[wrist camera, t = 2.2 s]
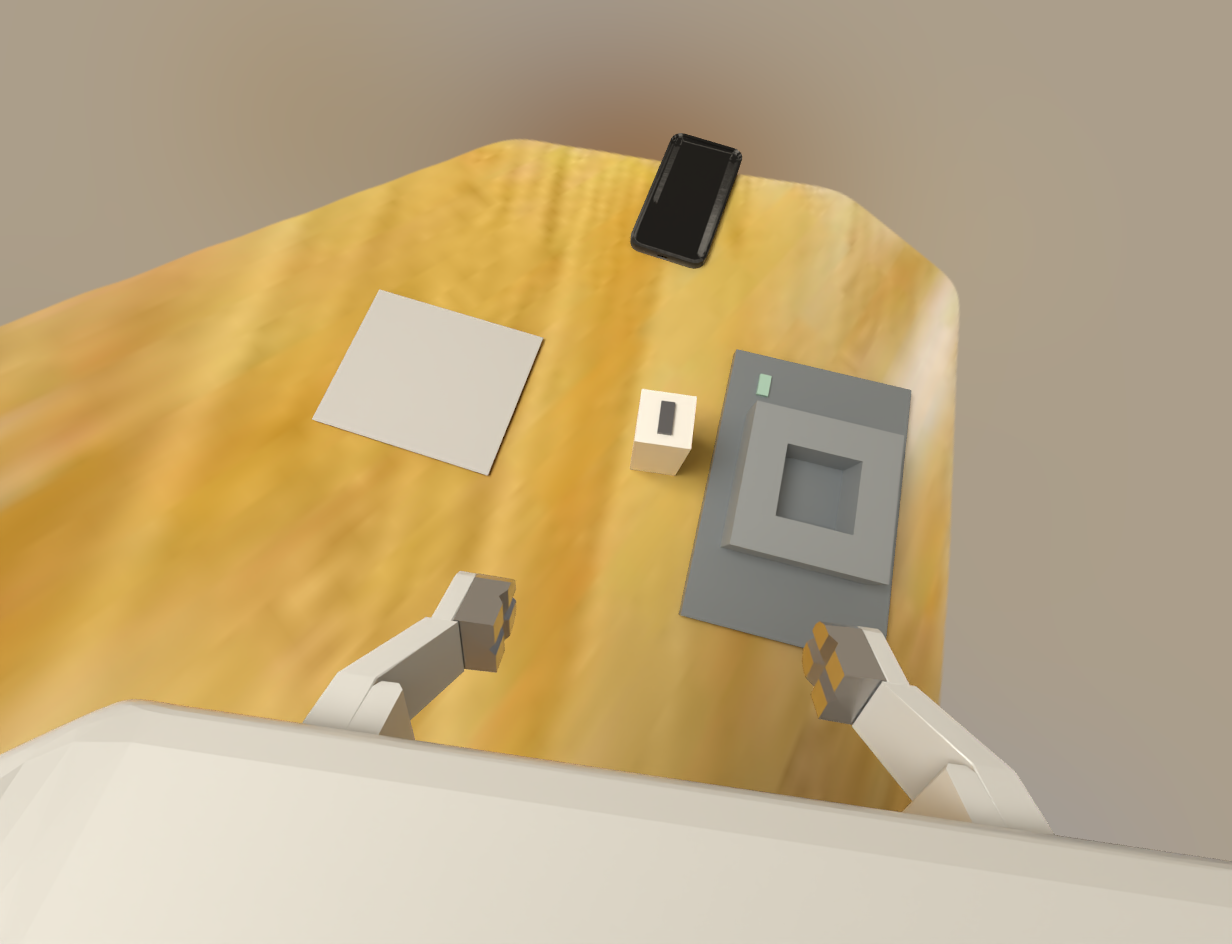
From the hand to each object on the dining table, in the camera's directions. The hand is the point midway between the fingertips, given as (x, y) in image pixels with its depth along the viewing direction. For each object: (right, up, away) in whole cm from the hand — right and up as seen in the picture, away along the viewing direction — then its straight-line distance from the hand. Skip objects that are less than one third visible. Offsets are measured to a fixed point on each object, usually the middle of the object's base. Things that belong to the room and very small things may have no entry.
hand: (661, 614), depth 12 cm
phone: (+6, +32, +34) cm, 47 cm away
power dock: (+15, +2, +26) cm, 30 cm away
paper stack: (-13, +15, +30) cm, 36 cm away
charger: (+2, +6, +27) cm, 28 cm away
